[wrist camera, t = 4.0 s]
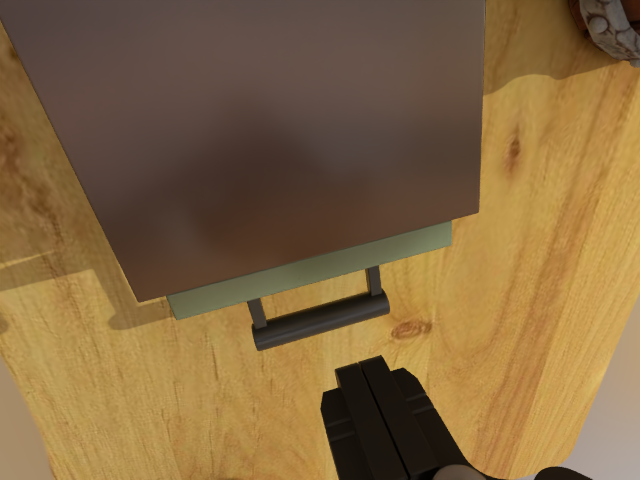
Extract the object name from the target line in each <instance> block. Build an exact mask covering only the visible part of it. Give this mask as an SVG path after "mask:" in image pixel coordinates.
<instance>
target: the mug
mask: <svg viewBox="0 0 640 480" xmlns="http://www.w3.org/2000/svg"><path fill="white" fill-rule="evenodd" d="M569 4H570V9H571V12H572V14H573V16H574V18H575V21H576V23H577V25H578V27H579V30H584V29H588V32H587V33H586V34H585V38H586V39H587V40H589V41H590V42H591V43H592V44H593V45H595V46H596V47H597V48H598V49H600V50H601V51H606V52H607V53H608V54H609V55H610V56H612V57H613V58H614V59H619V60H625V61H629V62H630V65H631V66H633V67H637V68H639V67H640V0H569Z"/></svg>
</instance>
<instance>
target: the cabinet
mask: <svg viewBox="0 0 640 480" xmlns="http://www.w3.org/2000/svg"><path fill="white" fill-rule="evenodd" d="M485 13H486V0H0V20H1V23H2V25H3V27H4V29H5V31H6V33H7V35H8V37H9V39H10V41H11V43H12V45H13V47H14V49H15V51H16V53H17V55H18V57H19V59H20V61H21V63H22V66H23V68H24V70H25V72H26V74H27V76H28V78H29V80H30V82H31V84H32V86H33V88H34V90H35V92H36V94H37V96H38V98H39V100H40V102H41V104H42V106H43V109H44V111H45V113H46V115H47V117H48V119H49V121H50V123H51V125H52V127H53V129H54V131H55V133H56V135H57V137H58V139H59V141H60V143H61V145H62V147H63V149H64V151H65V154H66V156H67V158H68V160H69V162H70V164H71V166H72V168H73V170H74V172H75V174H76V176H77V178H78V180H79V182H80V184H81V186H82V188H83V190H84V192H85V194H86V197H87V199H88V201H89V203H90V205H91V207H92V209H93V211H94V213H95V215H96V217H97V219H98V221H99V223H100V225H101V227H102V229H103V231H104V233H105V235H106V237H107V239H108V242H109V244H110V246H111V248H112V250H113V252H114V254H115V256H116V258H117V260H118V262H119V264H120V266H121V268H122V270H123V272H124V274H125V276H126V278H127V280H128V282H129V285H130V287H131V289H132V291H133V293H134V295H135V297H136V299H137V301H138V302H144V301H147V300H151V299H155V298H159V297H162V296H166V295H170V294H174V293H178V292H181V291H185V290H189V289H193V288H196V287H200V286H204V285H208V284H211V283H215V282H219V281H223V280H227V279H230V278H234V277H238V276H242V275H245V274H249V273H253V272H257V271H261V270H264V269H268V268H272V267H276V266H279V265H283V264H287V263H291V262H295V261H298V260H302V259H306V258H310V257H313V256H317V255H321V254H325V253H329V252H332V251H336V250H340V249H344V248H347V247H351V246H355V245H359V244H363V243H366V242H370V241H374V240H378V239H381V238H385V237H389V236H393V235H397V234H400V233H404V232H408V231H412V230H415V229H419V228H423V227H427V226H431V225H434V224H438V223H442V222H446V221H449V220H453V219H457V218H461V217H465V216H468V215H472V214H476V213H478V212H479V199H480V168H481V137H482V106H483V75H484V44H485Z"/></svg>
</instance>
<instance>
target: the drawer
mask: <svg viewBox="0 0 640 480" xmlns="http://www.w3.org/2000/svg"><path fill="white" fill-rule="evenodd" d="M451 245H452V221H451V220H449V221H446V222H442V223H438V224H434V225H431V226H427V227H423V228H419V229H415V230H412V231H408V232H404V233H400V234H397V235H393V236H389V237H385V238H381V239H378V240H374V241H370V242H366V243H363V244H359V245H355V246H351V247H347V248H344V249H340V250H336V251H332V252H329V253H325V254H321V255H317V256H313V257H310V258H306V259H302V260H298V261H295V262H291V263H287V264H283V265H279V266H276V267H272V268H268V269H264V270H261V271H257V272H253V273H249V274H245V275H242V276H238V277H234V278H230V279H227V280H223V281H219V282H215V283H211V284H208V285H204V286H200V287H196V288H193V289H189V290H185V291H181V292H178V293H174V294H170V295H166V298H167V300H168V302H169V305H170V307H171V309H172V311H173V314H174V316H175V318H176V320H180V319H184V318H188V317H191V316H195V315H199V314H202V313H206V312H210V311H213V310H217V309H221V308H224V307H228V306H231V305H235V304H239V303H242V302H246V301H247V304H248V307H249V310H250V313H251V316H252V319H253V323H254V324H252V334H253V338H254V342H255V346H256V348H257V350H258V351H262V350H266V349H269V348H273V347H276V346H279V345H283V344H286V343H290V342H293V341H297V340H300V339H303V338H307V337H310V336H314V335H317V334H321V333H324V332H327V331H331V330H334V329H338V328H341V327H344V326H348V325H351V324H355V323H358V322H362V321H365V320H368V319H372V318H375V317H379V316H382V315H386V314H389V312H390V306H389V301H388V298H387V295H386V293H385V291H384V290H383V289H382V288H381V280H380V271H379V265H381V264H385V263H389V262H392V261H396V260H399V259H403V258H407V257H410V256H414V255H418V254H421V253H425V252H429V251H432V250H436V249H440V248H443V247H447V246H451ZM363 269H365V273H366V280H367V288H368V291H367V292H364V293H360V294H357V295H353V296H350V297H346V298H342V299H339V300H335V301H332V302H328V303H325V304H321V305H318V306H314V307H311V308H307V309H303V310H300V311H296V312H293V313H289V314H286V315H282V316H279V317H275V318H272V319H268V320H266V316H265V313H264V310H263V306H262V303H261V299H260V298H261V297H264V296H268V295H272V294H275V293H279V292H283V291H286V290H290V289H294V288H297V287H301V286H305V285H308V284H312V283H315V282H319V281H323V280H326V279H330V278H334V277H337V276H341V275H345V274H348V273H352V272H356V271H359V270H363Z"/></svg>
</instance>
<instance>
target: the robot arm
mask: <svg viewBox="0 0 640 480" xmlns="http://www.w3.org/2000/svg"><path fill="white" fill-rule="evenodd" d="M335 376H336V380H337V385H338V388H336V389H332V390H329V391H326V392H323V397H322V402H321V408H320V409H321V413H322V417H323V421H324V425H325V429H326V434H327V438H328V442H329V445H330V449H331V453H332V456H333V460H334V464H335V467H336V471H337V475H338V478H339V480H505V479H497V478H493V477H490V476H488V475H485V474H483V473H482V472H480V471H478V470H477V469H475V468H474V467H473V466H472V465H471V464H470V463H469V462H468V461H467V460H466V458H465V457H464V456H463V454H462V452H461V451H460V449H459V447H458V446H457V444H456V442H455V441H454V439H453V437H452V436H451V434H450V432H449V431H448V429H447V427H446V426H445V424H444V422H443V421H442V419H441V417H440V415H439V414H438V412H437V410H436V409H435V408H434V406H433V404H432V402H431V400H430V399H429V397H428V396H427V395H426V392H425V390H424V389H423V387H422V385H421V384H420V382H419V380H418V379H417V378H416V377H415V376H414V375H412V374H411V373H410V372H408V371H407V370H406V369H405V368H400V369H397V370H393V371H390V369H389V367H388V366H387V364H386V362H385V360H384V358H383V357H382V356H381V355H380V356H376V357H373V358H370V359H366V360H363V361H360V362H358V363H354V364H350V365H347V366H344V367H340V368H337V369H335ZM534 480H592V479H590V478H588V477H586V476H584V475H582V474H580V473H578V472H576V471H573V470H571V469H568V468H564V467H548V468H545V469H543V470H541V471H540V472H539V473H538V474H537V475H536V477H535V479H534Z"/></svg>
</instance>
